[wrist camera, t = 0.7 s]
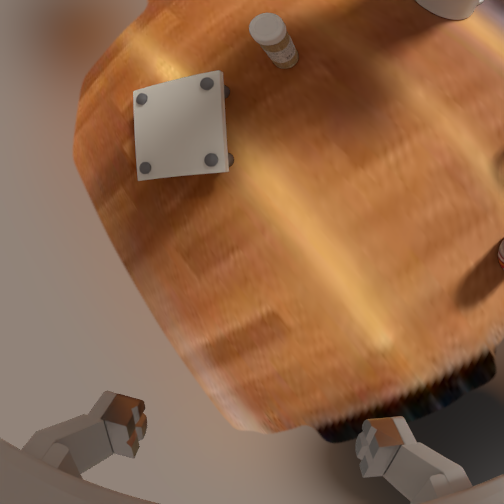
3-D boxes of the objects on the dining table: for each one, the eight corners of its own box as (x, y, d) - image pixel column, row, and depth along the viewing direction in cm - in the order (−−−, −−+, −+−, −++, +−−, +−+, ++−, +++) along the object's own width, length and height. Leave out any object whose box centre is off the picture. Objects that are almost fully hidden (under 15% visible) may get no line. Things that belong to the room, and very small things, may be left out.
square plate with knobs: (153, 96, 51) (131, 90, 44) (233, 79, 46) (217, 69, 40) (158, 178, 55) (135, 181, 49) (239, 170, 51) (223, 172, 44)
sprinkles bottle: (286, 41, 42) (267, 5, 30) (304, 58, 42) (291, 26, 30) (266, 57, 44) (240, 26, 32) (283, 75, 44) (263, 47, 32)
